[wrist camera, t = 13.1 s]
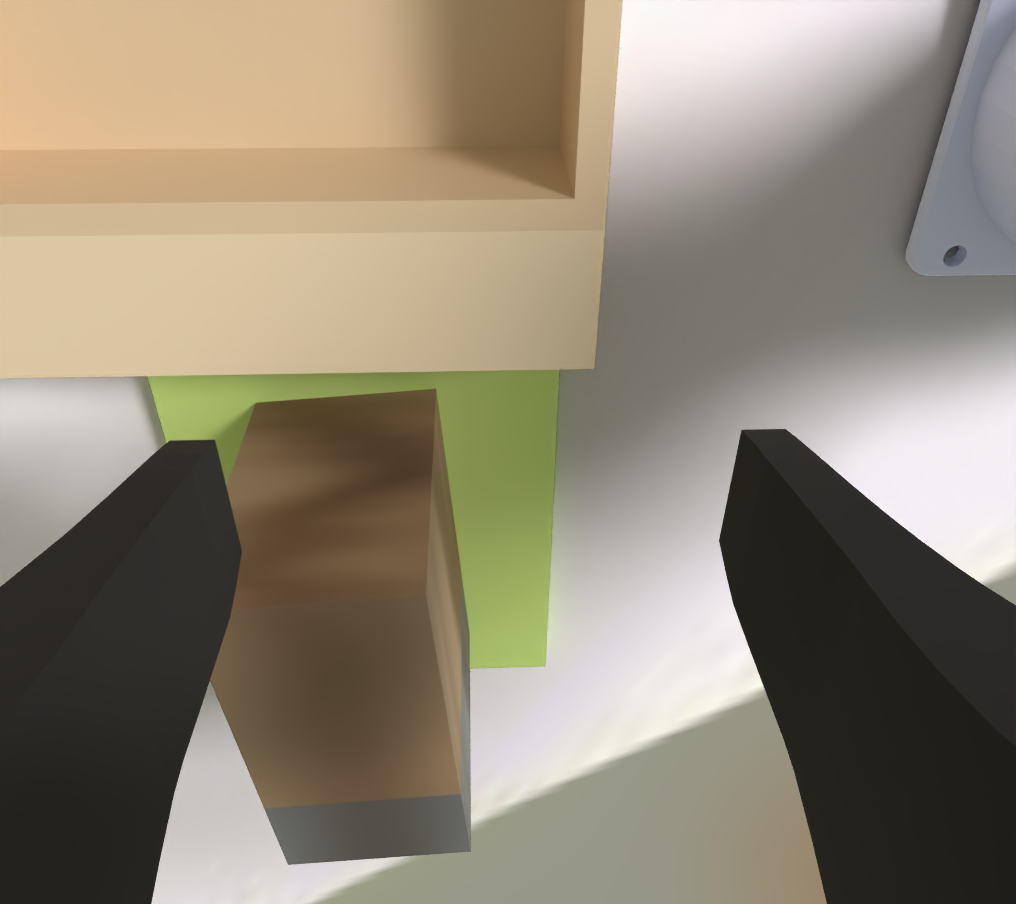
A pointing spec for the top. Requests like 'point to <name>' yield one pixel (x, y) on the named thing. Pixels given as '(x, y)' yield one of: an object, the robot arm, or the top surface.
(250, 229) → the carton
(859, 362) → the top surface
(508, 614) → the mat
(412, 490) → the box
